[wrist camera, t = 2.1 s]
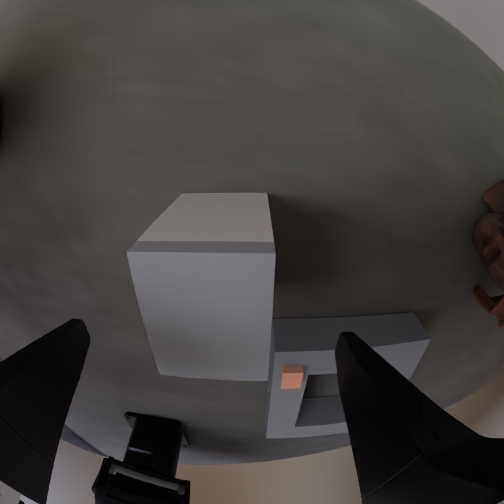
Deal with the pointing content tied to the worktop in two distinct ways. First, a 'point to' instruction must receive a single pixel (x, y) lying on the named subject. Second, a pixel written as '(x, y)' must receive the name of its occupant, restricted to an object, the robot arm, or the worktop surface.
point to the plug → (208, 286)
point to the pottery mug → (492, 249)
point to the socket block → (329, 366)
